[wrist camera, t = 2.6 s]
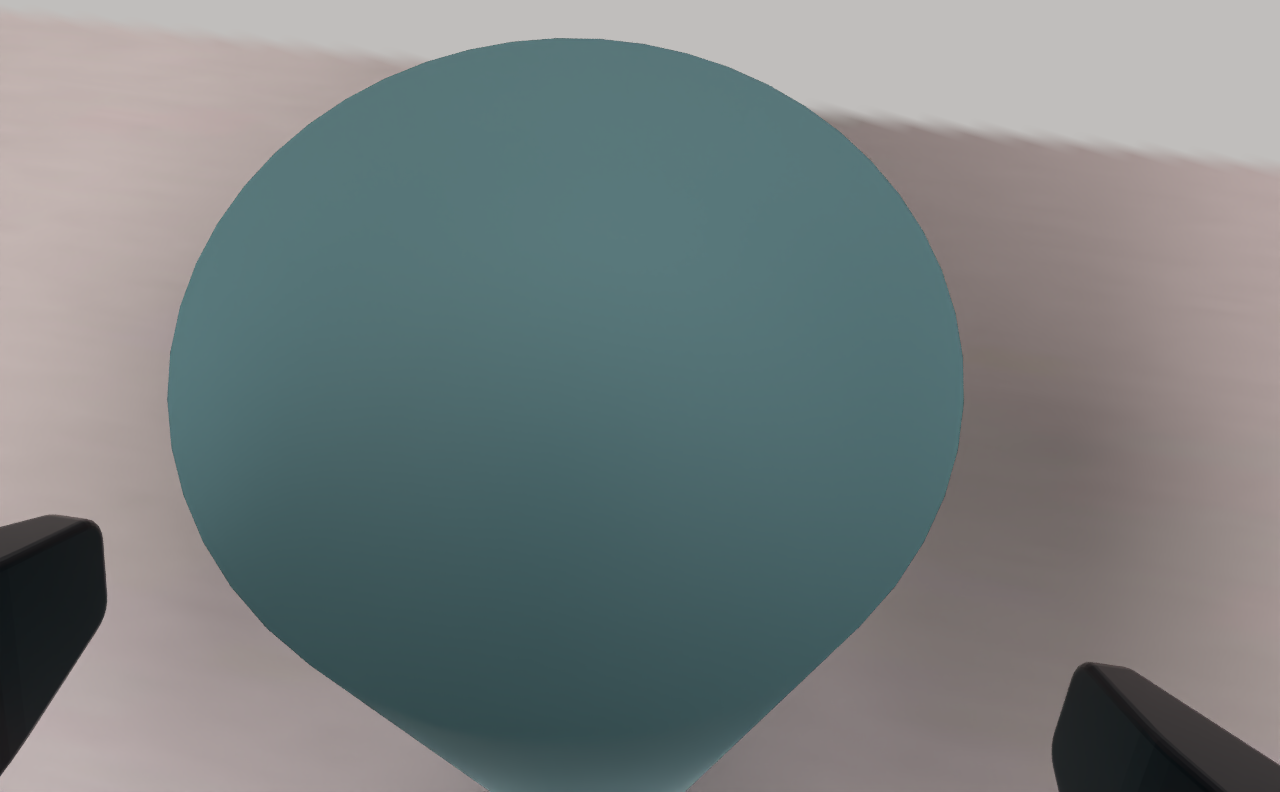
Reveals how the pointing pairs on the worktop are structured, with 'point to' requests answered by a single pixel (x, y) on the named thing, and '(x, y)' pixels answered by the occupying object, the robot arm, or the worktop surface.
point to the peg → (566, 405)
